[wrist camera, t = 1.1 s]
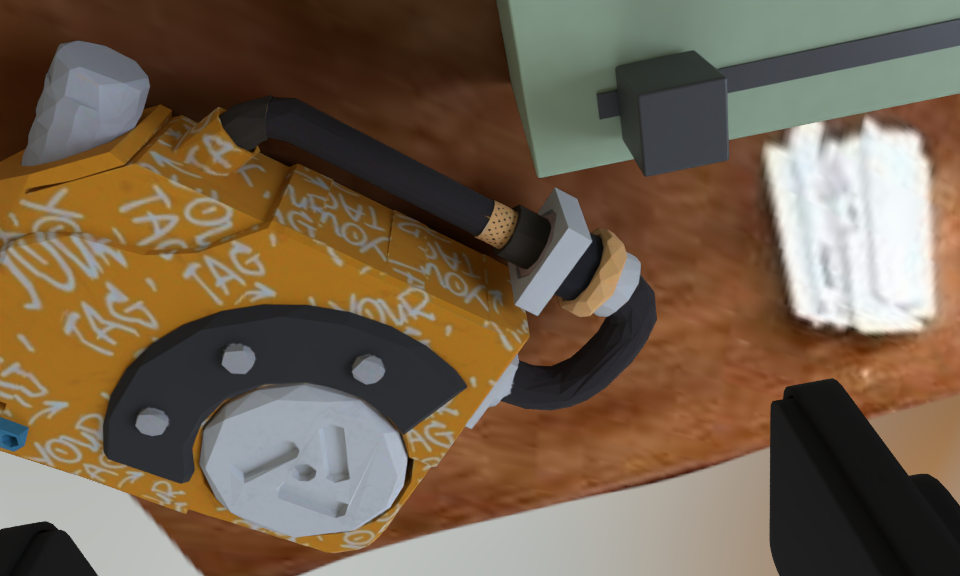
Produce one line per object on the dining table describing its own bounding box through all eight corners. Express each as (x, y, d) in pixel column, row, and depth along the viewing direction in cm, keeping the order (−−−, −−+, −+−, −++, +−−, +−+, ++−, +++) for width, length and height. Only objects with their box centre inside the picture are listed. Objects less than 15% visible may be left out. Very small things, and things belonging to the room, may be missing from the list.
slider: (614, 65, 22) (636, 95, 20) (695, 48, 22) (728, 76, 19) (622, 141, 23) (644, 178, 21) (698, 125, 23) (730, 161, 21)
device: (-47, -69, 22) (725, 327, 31) (71, -91, 29) (672, 237, 38) (-151, 437, 32) (458, 630, 41) (-44, 328, 39) (456, 513, 48)
